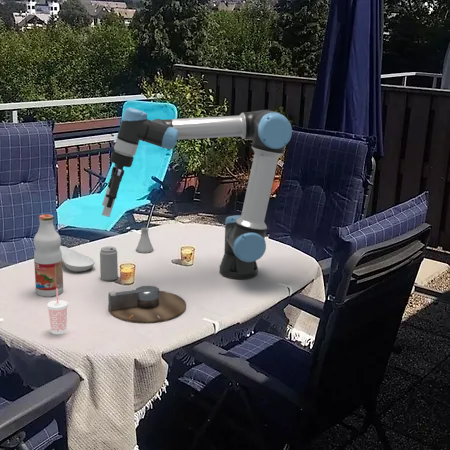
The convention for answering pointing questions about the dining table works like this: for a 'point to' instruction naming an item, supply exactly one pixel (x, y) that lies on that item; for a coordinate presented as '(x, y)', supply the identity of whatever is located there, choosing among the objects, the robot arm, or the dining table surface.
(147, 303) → the dial
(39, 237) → the fruit juice
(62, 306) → the beverage cup
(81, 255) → the spoon rest
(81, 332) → the dining table surface
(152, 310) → the dial board
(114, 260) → the beverage can
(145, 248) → the flask
